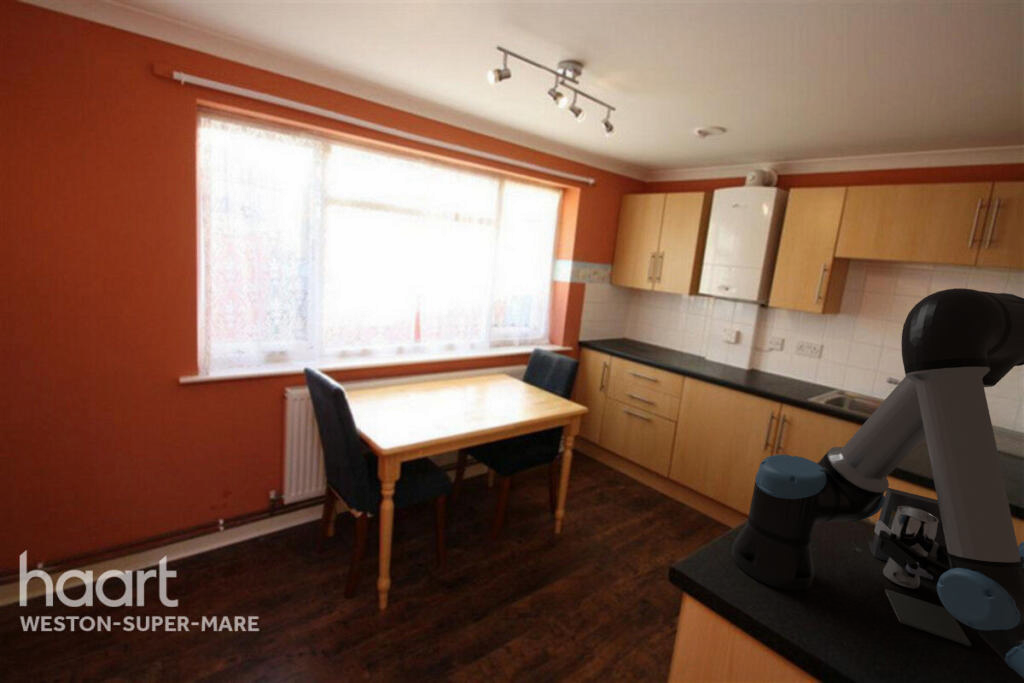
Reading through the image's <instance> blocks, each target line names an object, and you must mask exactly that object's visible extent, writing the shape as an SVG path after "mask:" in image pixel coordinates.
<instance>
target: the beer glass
mask: <svg viewBox="0 0 1024 683" xmlns="http://www.w3.org/2000/svg"><path fill="white" fill-rule="evenodd" d="M938 522H939V520H938V519H937V518H936V517H935V516H933V515H932V514H930V513H928V512H925V511H923V510H920V509H917V508H914V507H909V506H899V507H898V509H897V511H896V514H895V517H894V519H893V523H892V526H891V531H892V532H893V533H894V534H896V535H897V536H898V537H899V539H898V540H900V541H901V542H903V543H904V544H906V545H907V546H909V547H911V548H912V549H914V550H915V551H917V552H919V553H920V554H922V555H923V556H929V554H930V552H931V550H932V548H933V545H934V542H935V539H936V534H937V528H938ZM882 573H883V575H884V577H885V578H886V579H888V580H890V581H891V582H893V584H897V585H899V586H901V587H904V588H907V589H913V590H915V589H919V588H920V585H921V576H920V575H915V578H912V577H909V576H908V575H907V574H906V572H905V571H904V569H903V568H901V567H900V566H899V565H898V564H897V563H896V562H895V561H894V560H892V559H891V558H890V557H889V559H888V561H886V564H885V565H884V568H883V569H882Z"/></svg>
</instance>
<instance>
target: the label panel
mask: <svg viewBox="0 0 1024 683" xmlns="http://www.w3.org/2000/svg"><path fill="white" fill-rule="evenodd" d="M884 497H885V501H884V504H883V506H882V508H881V509H880V514H879V518H878V520H879V521H882V522H883V523H884V524H885V525H886V526H887V527H888V528H889V529H891V526H892V523H893V519H894V517H895V514H896V511H897V509H898V507H899V506H909V507H914V508H917V509H920V510H923V511H925V512H928V513H930V514H932V515H933V516H935V517H936V518H937V519H938V520H939V522H938V528H937V534H936V539H935V541H936V542H937V543H938V544H940V545H941V546H943V547H946V548H947V546H946V541H945V535H944V530H943V525H942V520H941V515H940V509H939V504H938V499H936V498H932V497H927V496H922V495H919V494H916V493H913V492H912V493H911V492H906V491H904V490H899V489H894V488H891V487H888V489H887V490H886V491H885V493H884ZM873 537H874V538H873V540H872V539H870V540H869V541H868V545H869V546H868V548H869V547H870V548H869V550H870V552H871V555H872V554H873V555H872V556H874V557H875V559H878V560H881V561H884V560H885V562H888V559H889V556H888V555H887V554H886V553H884V552H883V551H882V550H881V549H880V548H879V546H880V543H881V539H880V538H879V535H878V534H877V533H876V532H874V536H873ZM874 557H873V558H874ZM929 557H931V558H932V559H934V560H937V557H938V555H937V554H936V557H934V556H931V555H930V554H929ZM937 562H939V561H938V560H937ZM939 563H940V562H939ZM940 564H941V563H940Z"/></svg>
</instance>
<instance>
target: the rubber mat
mask: <svg viewBox="0 0 1024 683" xmlns="http://www.w3.org/2000/svg"><path fill="white" fill-rule="evenodd" d="M884 590H885V592H884V593H885V594H886V597H887V599H888V600H889V602H890V605H891V607H892V609H893V611H894V613H895V616H896V617H897V619H898V622H899V623H900V624H903V625H906V626H909V627H912V628H914V629H918V630H921V631H924V632H927V633H930V634H933V635H935V636H939V637H940V638H941V637H942V638H945V639H947V640H950V641H952V642H956V643H959V644H962V645H965V646H967V647H971V646H972V643H971V641H970V639H969V638H968V637H967V635H966V633H965V631H964V630H963V629H962V628H961V625H960V624H959V622H958V620H957V619H956V618H955V617H954V616H952V615H951V614H950V613H949V612H948V610H947V609H946V608H945V607H944V606H940V605H937V604H934V603H930V602H928V601H924V600H923V599H918V598H915V597H913V596H909V595H905V594H903V593H900V592H897V591H894V590H890V589H887V588H885V589H884Z"/></svg>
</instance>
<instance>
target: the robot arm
mask: <svg viewBox="0 0 1024 683" xmlns="http://www.w3.org/2000/svg"><path fill="white" fill-rule="evenodd" d="M901 358H902V359H901V360H902V364H903V368H904V369H903V370H904V378H902V380H901V381H900V382H899V383H898V385H896V386H895V388H893V390H892V391H891V392H890V393H889V395H888V396H887V397H886V398H885V399H884V400H883V401H882V403H881V404H880V405H878V407H877V408H876V410H874V411H873V413H872V414H871V415H870V416H869V417H868V418H867V420H865V422H864V423H863V424H862V425H861V427H859V429H857V431H856V432H855V433H854V434H853V435H852V437H850V439H849V440H848V441H847V442H846V444H845V445H844V446H834V447H830V448H829V449H828V451H827V452H826V453H825V454H824V455H823V456H822V458H821V459H820V460H819V461H818V462H816V461H813V460H811V459H809V458H805V457H802V456H797V455H794V456H791V455H789V454H774V455H770V456H767V457H765V458H764V459H763V460H762V461H761V462H760V465H759V468H758V471H757V473H756V475H755V481H754V487H753V493H752V498H751V503H750V508H749V511H748V512H749V513H748V518H747V522H746V523H745V524H744V526H743V528H742V529H741V531H740V532H739V533H738V535H737V537H736V538H735V540H734V541H733V544H732V549H731V557H732V560H733V561H734V563H735V564H736V565H737V566H738V568H740V569H741V570H742V571H743V572H744V573H746V574H747V575H749V576H750V577H752V578H754V579H755V580H757V581H759V582H761V583H763V584H766V585H768V586H770V587H773V588H777V589H781V590H784V591H789V592H790V591H793V592H800V591H805V590H808V589H810V588H811V587H812V585H813V581H814V576H815V570H814V563H813V555H812V554H813V553H812V549H811V547H812V546H811V543H812V540H813V539H812V538H813V534H814V530H815V526H816V524H825V523H836V522H858V521H859V522H860V521H861V520H866V519H868V518H870V517H873V516H875V515H877V513H879V512H881V509H882V506H883V504H884V501H885V493H886V490H887V489H888V488H890V487H889V486H890V484H889V479H888V476H889V475H890V474H892V472H893V471H894V470H896V468H897V467H898V466H899V465H900V464H901V463H902V462H903V461H904V460H905V459H906V458H907V457H908V456H909V455H910V454H911V453H912V452H913V451H914V450H915V449H917V447H918V446H919V445H920V444H921V443H922V442H923V441H924V440H925V441H926V446H927V450H928V451H927V452H928V455H929V456H928V457H929V462H930V467H931V472H932V476H933V482H934V489H935V493H936V498H937V499H936V500H938V504H939V509H940V515H941V520H942V525H943V530H944V535H945V541H946V546H947V548H946V547H943V546H941V545H940V544H938V543H937V542H936V541H935V542H934V545H933V548H932V550H931V552H930V555H931V556H934V557H936V554H937V555H938V557H937V560H938V561H939V562H940V563H941V564H940V563H939V562H937V560H934V559H932V558H931V557H929V556H923V555H922V554H920V553H919V552H917V551H915V550H914V549H912V548H911V547H909V546H907V545H906V544H904V543H903V542H901V541H900V540H898V539H899V537H898V536H897V535H896V534H894V533H893V532H892V531H891V529H889V528H888V527H887V526H886V525H885V524H884V523H883V522H882V521H879V519H877V520H876V524H875V527H874V533H875V532H876V533H877V534H878V535H879V538H880V539H881V543H880V546H879V548H880V549H881V550H882V551H883V552H884V553H886V554H887V555H888V556H889V557H890V558H891V559H892V560H894V561H895V562H896V563H897V564H898V565H899V566H900V567H901V568H903V569H904V571H905V572H906V574H907V575H908V576H909V577H912V578H915V575H920V577H924V579H925V581H926V580H927V582H929V583H931V584H932V585H933V586H935V588H936V593H937V595H938V598H939V600H940V602H941V604H942V605H943V607H944V608H946V609H947V610H948V612H949V613H950V614H951V615H952V616H954V618H955V619H956V621H958V622H960V623H962V624H964V625H966V626H968V627H970V628H972V629H973V630H974V631H975V633H976V634H977V635H979V636H980V638H982V639H983V641H984V642H985V643H986V644H988V646H989V647H991V649H992V650H993V651H994V652H995V653H996V654H997V655H998V656H999V657H1001V659H1002V660H1003V661H1004V662H1005V663H1006V664H1007V666H1008V667H1009V668H1011V669H1012V670H1013V671H1014V672H1016V673H1017V674H1018V675H1019V676H1020V677H1021V678H1023V679H1024V541H1021V542H1020V543H1019V545H1018V541H1017V536H1016V532H1015V526H1014V523H1013V517H1012V513H1011V507H1010V503H1009V499H1008V494H1007V490H1006V485H1005V480H1004V475H1003V469H1002V466H1001V461H1000V457H999V452H998V447H997V442H996V439H995V438H996V437H995V434H994V428H993V425H992V424H993V423H992V419H991V415H990V414H991V413H990V409H989V406H988V400H987V396H986V391H985V388H991V387H995V386H996V385H997V384H998V383H999V382H1000V381H1001V380H1002V379H1003V378H1004V377H1005V376H1006V375H1007V374H1008V373H1009V372H1010V371H1012V370H1013V368H1014V367H1019V366H1020V367H1021V366H1024V297H1021V296H1018V295H1016V294H1013V293H1006V292H999V293H998V292H992V291H991V292H990V291H982V290H977V289H971V288H947V289H944V290H940V291H936V292H934V293H931V294H929V295H927V296H925V297H924V298H922V299H921V300H920V301H918V302H917V303H916V304H915V305H914V306H913V307H912V309H911V310H910V311H909V312H908V314H907V316H906V319H905V321H904V323H903V325H902V332H901Z"/></svg>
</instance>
